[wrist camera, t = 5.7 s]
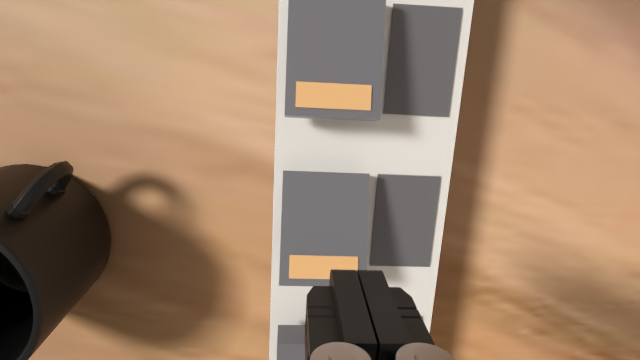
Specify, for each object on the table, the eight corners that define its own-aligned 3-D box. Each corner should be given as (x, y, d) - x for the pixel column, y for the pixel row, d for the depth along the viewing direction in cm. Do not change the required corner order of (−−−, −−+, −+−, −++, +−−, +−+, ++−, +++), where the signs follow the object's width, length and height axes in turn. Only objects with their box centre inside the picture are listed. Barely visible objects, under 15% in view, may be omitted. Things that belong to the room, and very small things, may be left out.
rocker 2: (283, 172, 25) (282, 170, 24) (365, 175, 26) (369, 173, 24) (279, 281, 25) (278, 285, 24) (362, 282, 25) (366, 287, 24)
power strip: (282, -56, 26) (281, -76, 22) (454, -44, 27) (483, -60, 23) (270, 388, 34) (267, 433, 30) (402, 389, 35) (416, 433, 31)
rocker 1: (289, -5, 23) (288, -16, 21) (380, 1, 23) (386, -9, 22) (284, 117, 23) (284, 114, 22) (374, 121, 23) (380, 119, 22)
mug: (163, 191, 29) (110, 249, 21) (65, 322, 32) (-22, 425, 23) (30, 98, 27) (-91, 120, 19) (-66, 245, 30) (-215, 326, 21)
